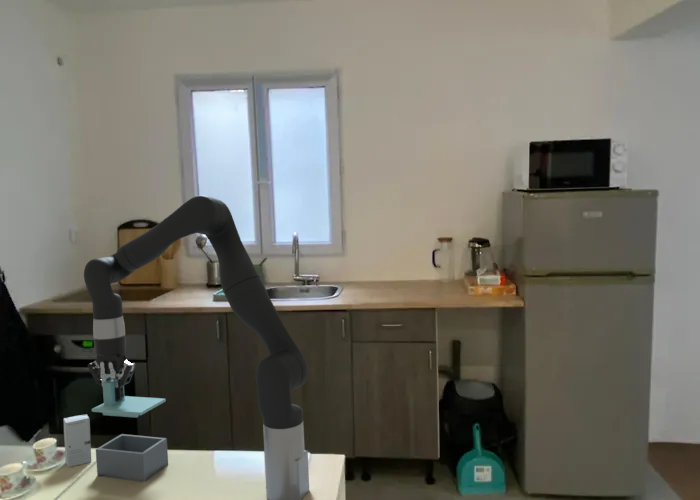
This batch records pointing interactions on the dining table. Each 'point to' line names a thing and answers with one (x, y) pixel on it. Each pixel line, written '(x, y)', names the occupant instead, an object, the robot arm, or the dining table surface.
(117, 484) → the dining table surface
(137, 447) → the box
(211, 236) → the robot arm
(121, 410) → the tub lid
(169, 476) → the dining table surface
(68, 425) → the skincare box
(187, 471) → the dining table surface
